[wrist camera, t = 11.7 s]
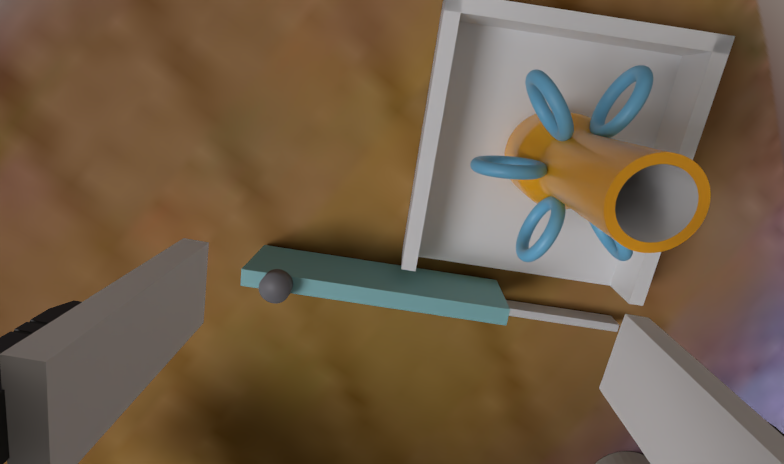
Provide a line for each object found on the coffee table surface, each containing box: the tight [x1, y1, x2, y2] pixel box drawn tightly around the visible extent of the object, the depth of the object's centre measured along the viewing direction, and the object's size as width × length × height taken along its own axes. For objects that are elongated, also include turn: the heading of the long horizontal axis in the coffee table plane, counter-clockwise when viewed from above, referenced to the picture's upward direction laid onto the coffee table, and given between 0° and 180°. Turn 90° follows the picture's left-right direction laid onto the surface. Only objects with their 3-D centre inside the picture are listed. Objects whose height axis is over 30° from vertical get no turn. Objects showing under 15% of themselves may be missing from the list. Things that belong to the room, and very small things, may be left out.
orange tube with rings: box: [470, 65, 711, 262], centre depth 25 cm, size 12×10×15 cm
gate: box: [241, 245, 510, 325], centre depth 32 cm, size 18×2×6 cm, turn 82°
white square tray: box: [401, 0, 735, 332], centre depth 31 cm, size 17×21×4 cm
